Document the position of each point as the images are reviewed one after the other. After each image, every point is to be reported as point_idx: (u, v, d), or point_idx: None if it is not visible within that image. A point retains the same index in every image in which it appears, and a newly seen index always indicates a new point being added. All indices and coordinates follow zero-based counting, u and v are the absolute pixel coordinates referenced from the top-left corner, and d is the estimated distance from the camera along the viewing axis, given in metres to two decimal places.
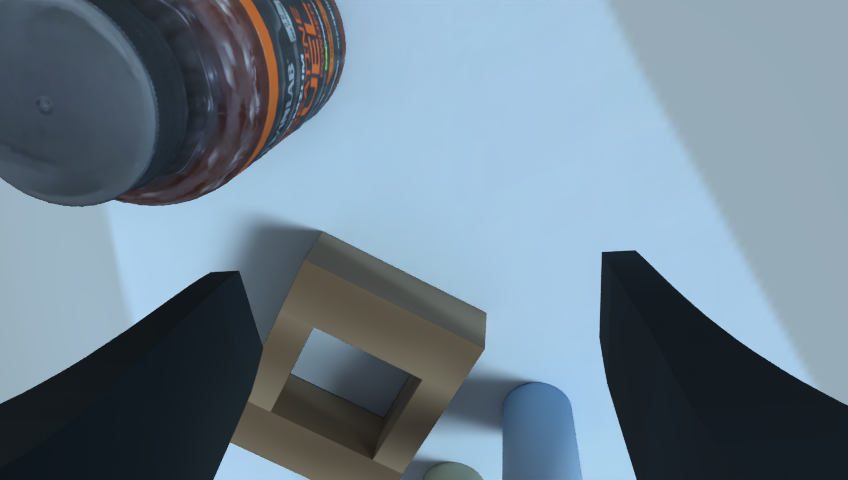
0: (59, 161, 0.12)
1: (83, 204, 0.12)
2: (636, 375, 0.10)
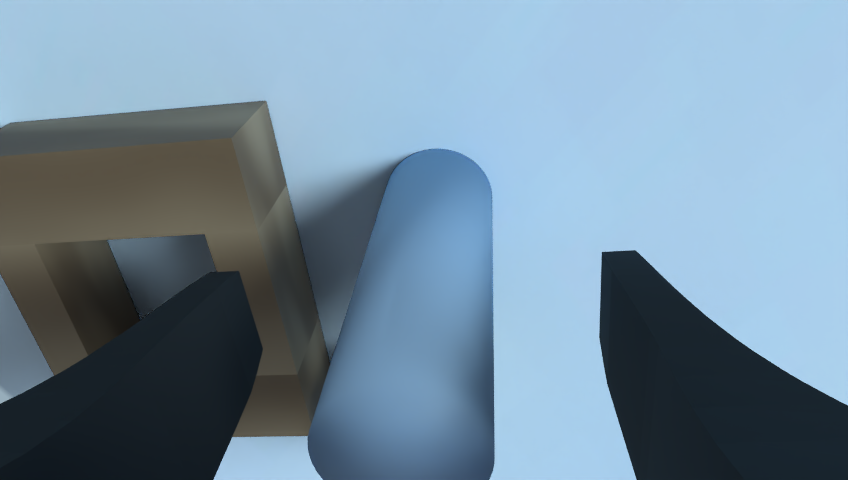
0: None
1: None
2: (636, 375, 0.10)
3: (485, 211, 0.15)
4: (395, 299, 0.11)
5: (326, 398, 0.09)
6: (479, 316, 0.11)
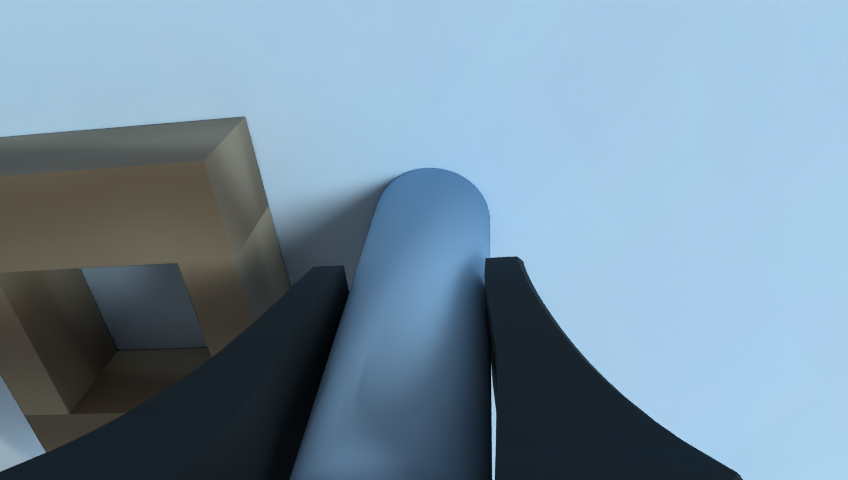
0: None
1: None
2: (496, 379, 0.10)
3: (482, 238, 0.14)
4: (379, 349, 0.09)
5: (299, 471, 0.08)
6: (475, 366, 0.10)
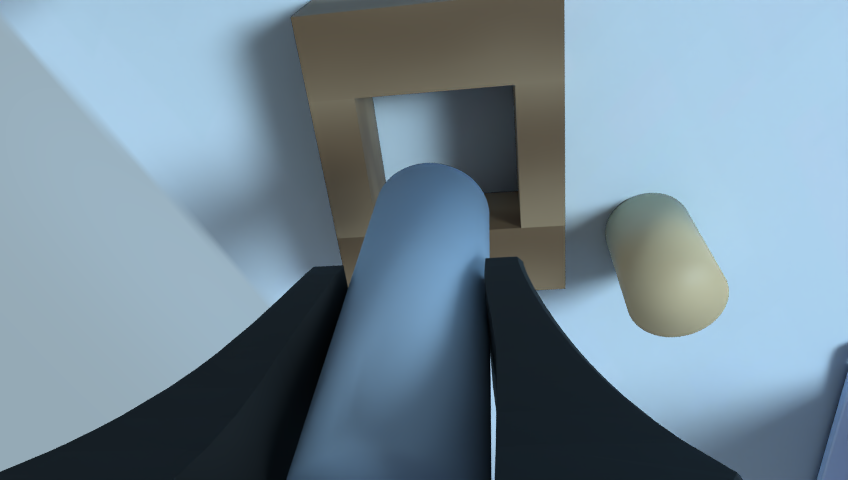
0: None
1: None
2: (496, 379, 0.10)
3: (482, 233, 0.14)
4: (380, 341, 0.09)
5: (299, 461, 0.08)
6: (475, 359, 0.10)
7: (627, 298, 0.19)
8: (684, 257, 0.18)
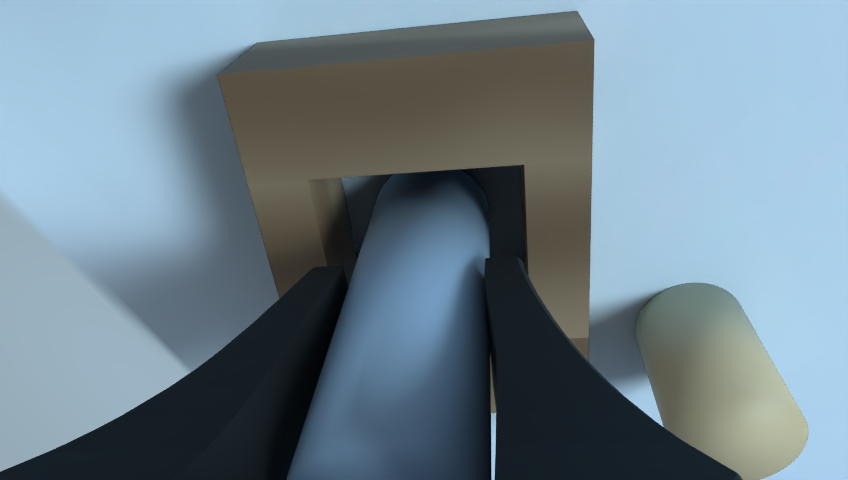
0: None
1: None
2: (496, 379, 0.10)
3: (482, 232, 0.14)
4: (380, 341, 0.09)
5: (300, 461, 0.08)
6: (475, 358, 0.10)
7: None
8: (751, 391, 0.13)
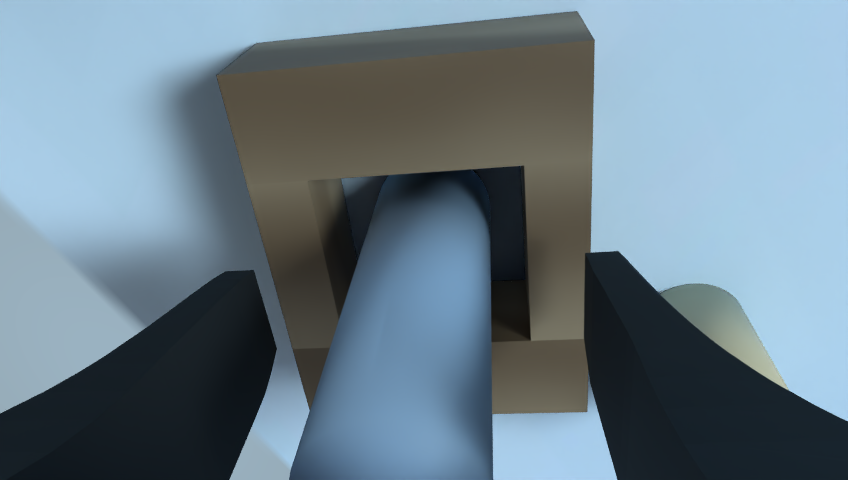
0: None
1: None
2: (615, 375, 0.10)
3: (483, 223, 0.14)
4: (385, 323, 0.10)
5: (309, 435, 0.09)
6: (476, 341, 0.10)
7: None
8: None
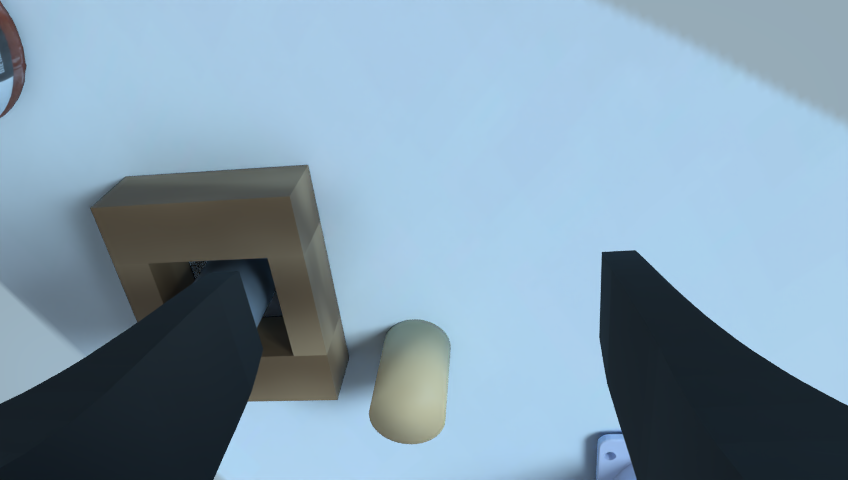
0: None
1: None
2: (636, 375, 0.10)
3: (257, 286, 0.23)
4: None
5: None
6: None
7: (369, 415, 0.24)
8: (405, 388, 0.23)
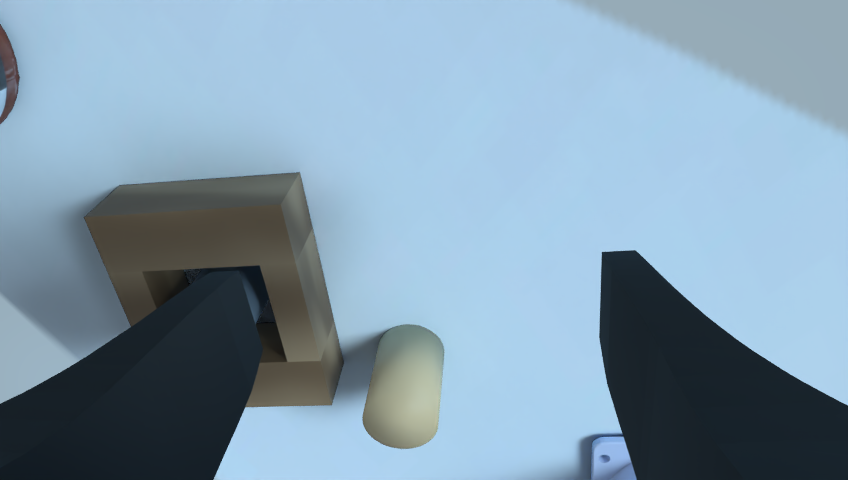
0: None
1: None
2: (636, 375, 0.10)
3: (250, 293, 0.24)
4: None
5: None
6: None
7: (363, 421, 0.24)
8: (397, 393, 0.23)
